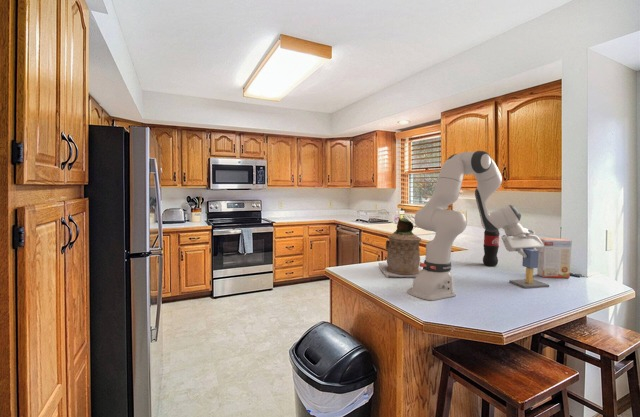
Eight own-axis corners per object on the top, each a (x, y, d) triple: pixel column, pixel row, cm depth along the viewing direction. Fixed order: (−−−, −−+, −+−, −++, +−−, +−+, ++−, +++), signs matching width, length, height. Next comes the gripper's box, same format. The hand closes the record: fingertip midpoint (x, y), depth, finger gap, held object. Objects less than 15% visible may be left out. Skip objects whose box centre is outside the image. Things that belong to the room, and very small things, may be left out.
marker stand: (525, 288, 154) (526, 271, 153) (509, 282, 164) (510, 266, 163) (549, 286, 157) (550, 270, 156) (532, 280, 166) (533, 264, 166)
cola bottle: (500, 267, 193) (503, 218, 191) (486, 266, 194) (489, 218, 191) (493, 263, 202) (495, 217, 199) (480, 263, 202) (482, 216, 200)
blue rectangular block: (529, 268, 157) (530, 250, 156) (522, 265, 161) (523, 248, 161) (537, 267, 158) (538, 250, 157) (529, 265, 162) (530, 248, 161)
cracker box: (562, 275, 177) (565, 238, 175) (570, 278, 171) (572, 240, 169) (536, 274, 178) (538, 237, 177) (542, 277, 172) (545, 239, 171)
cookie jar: (430, 278, 168) (432, 219, 166) (384, 278, 169) (386, 219, 166) (417, 266, 193) (419, 214, 190) (377, 266, 194) (378, 214, 191)
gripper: (503, 231, 163) (517, 254, 154) (536, 230, 167) (552, 252, 158) (496, 238, 167) (510, 261, 159) (529, 237, 171) (544, 259, 163)
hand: (531, 257), depth 158 cm, fingers closed on blue rectangular block, 5 cm apart
